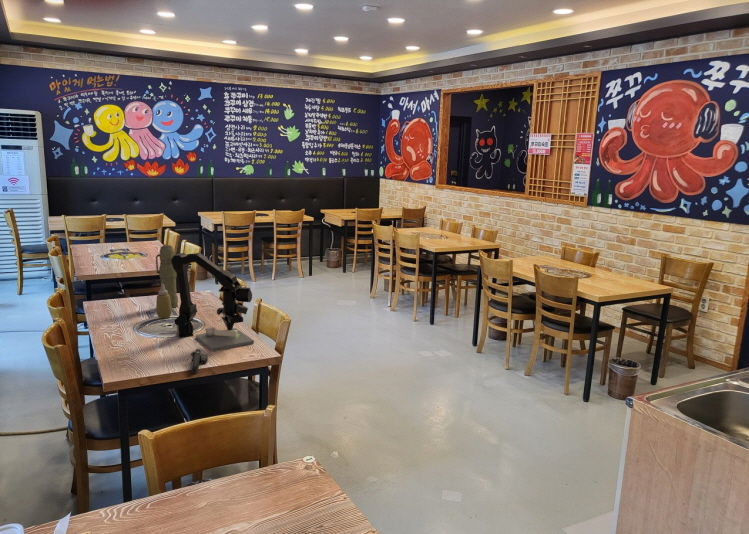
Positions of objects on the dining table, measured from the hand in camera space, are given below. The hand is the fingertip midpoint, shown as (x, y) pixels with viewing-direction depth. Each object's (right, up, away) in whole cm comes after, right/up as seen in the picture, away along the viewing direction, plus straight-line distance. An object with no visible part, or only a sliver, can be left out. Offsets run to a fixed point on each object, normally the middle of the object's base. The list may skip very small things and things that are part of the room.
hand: (230, 332), depth 269 cm
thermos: (-47, +8, +50) cm, 69 cm away
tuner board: (-2, -4, -4) cm, 5 cm away
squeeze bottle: (-43, +4, +31) cm, 53 cm away
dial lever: (-4, -1, -1) cm, 4 cm away
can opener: (-5, -10, -35) cm, 37 cm away
